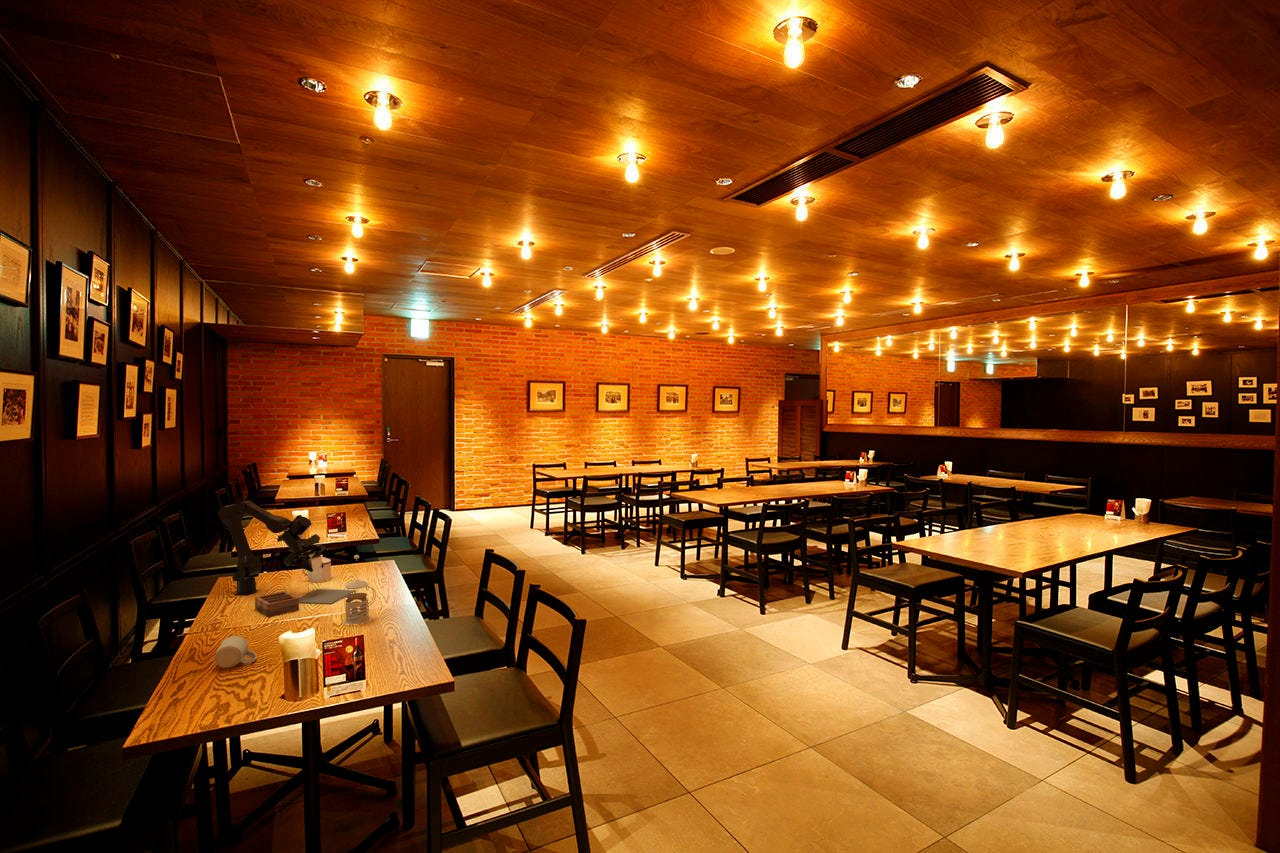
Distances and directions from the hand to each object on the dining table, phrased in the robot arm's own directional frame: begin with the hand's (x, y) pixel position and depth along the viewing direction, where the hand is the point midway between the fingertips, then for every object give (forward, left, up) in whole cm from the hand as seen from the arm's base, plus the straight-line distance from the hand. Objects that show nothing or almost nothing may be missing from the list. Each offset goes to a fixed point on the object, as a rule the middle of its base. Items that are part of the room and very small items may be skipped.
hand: (317, 569), depth 256 cm
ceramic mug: (+17, -67, -12) cm, 70 cm away
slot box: (-6, -17, -12) cm, 22 cm away
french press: (+33, -25, -12) cm, 44 cm away
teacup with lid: (-17, +25, -12) cm, 32 cm away
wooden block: (-1, 0, -4) cm, 4 cm away
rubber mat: (+2, +1, -12) cm, 12 cm away
